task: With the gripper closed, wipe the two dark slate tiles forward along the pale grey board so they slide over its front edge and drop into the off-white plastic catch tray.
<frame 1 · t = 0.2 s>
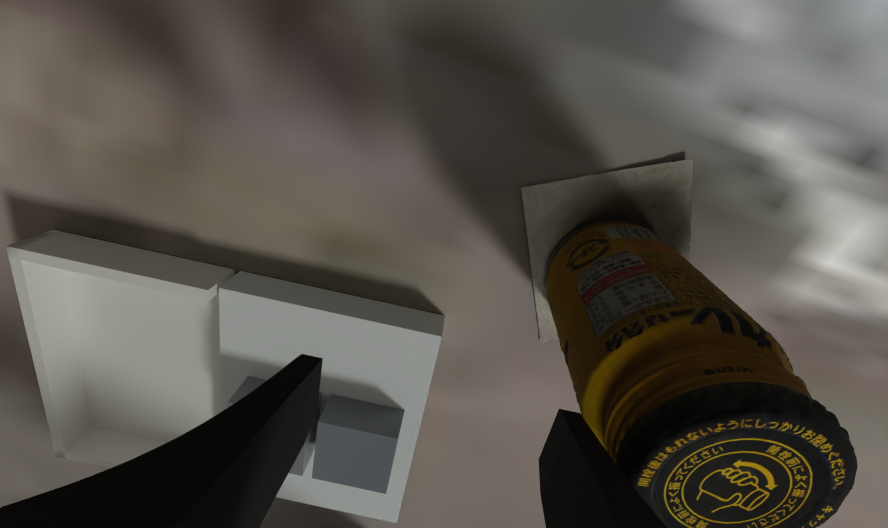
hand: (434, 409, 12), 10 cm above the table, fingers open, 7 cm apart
board: (330, 395, 25), on the table
catch tray: (154, 357, 25), on the table
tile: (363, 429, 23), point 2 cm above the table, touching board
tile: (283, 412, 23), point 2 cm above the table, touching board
condiment: (605, 257, 21), on the table
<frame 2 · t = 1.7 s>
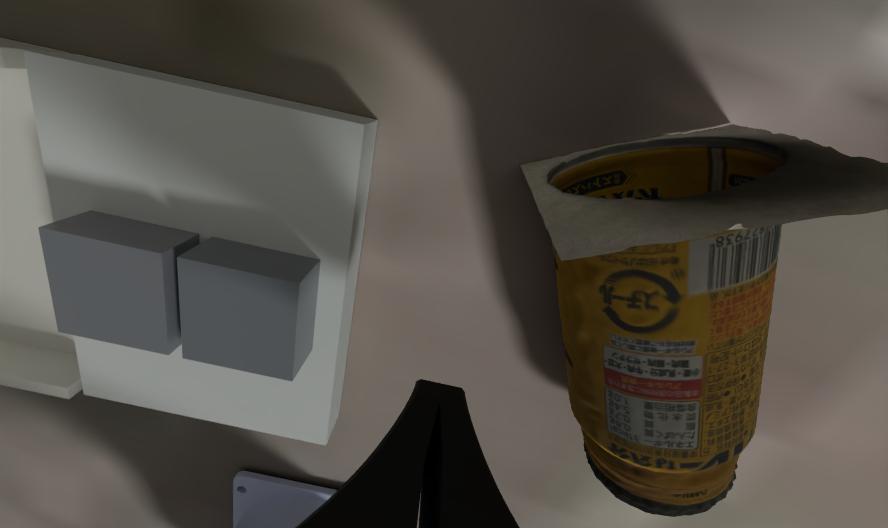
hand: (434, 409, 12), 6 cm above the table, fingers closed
board: (229, 262, 18), on the table
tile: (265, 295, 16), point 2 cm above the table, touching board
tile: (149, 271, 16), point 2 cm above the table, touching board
condiment: (672, 157, 11), point 4 cm above the table
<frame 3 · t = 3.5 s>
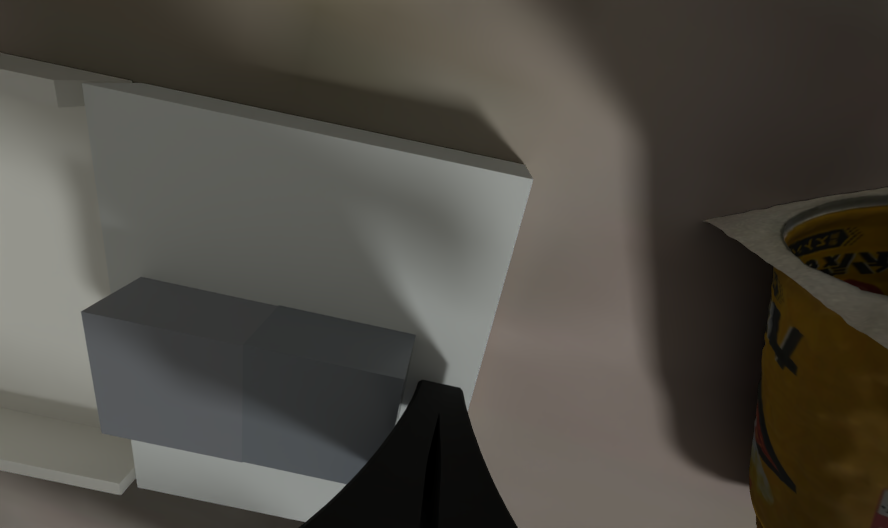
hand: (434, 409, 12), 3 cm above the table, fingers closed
board: (316, 330, 15), on the table
catch tray: (14, 267, 15), on the table
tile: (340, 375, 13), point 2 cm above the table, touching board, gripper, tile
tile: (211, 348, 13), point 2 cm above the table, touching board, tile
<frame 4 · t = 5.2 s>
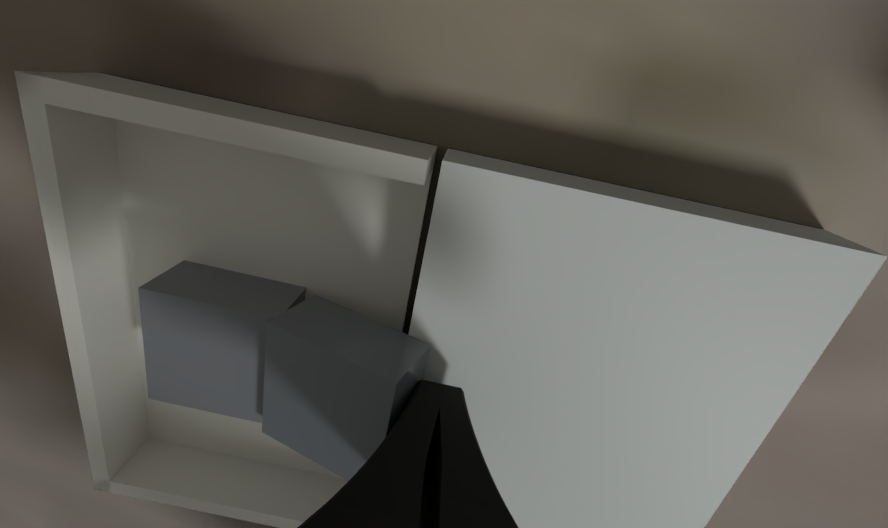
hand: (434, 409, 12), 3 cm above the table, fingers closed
board: (561, 383, 15), on the table
catch tray: (262, 319, 15), on the table
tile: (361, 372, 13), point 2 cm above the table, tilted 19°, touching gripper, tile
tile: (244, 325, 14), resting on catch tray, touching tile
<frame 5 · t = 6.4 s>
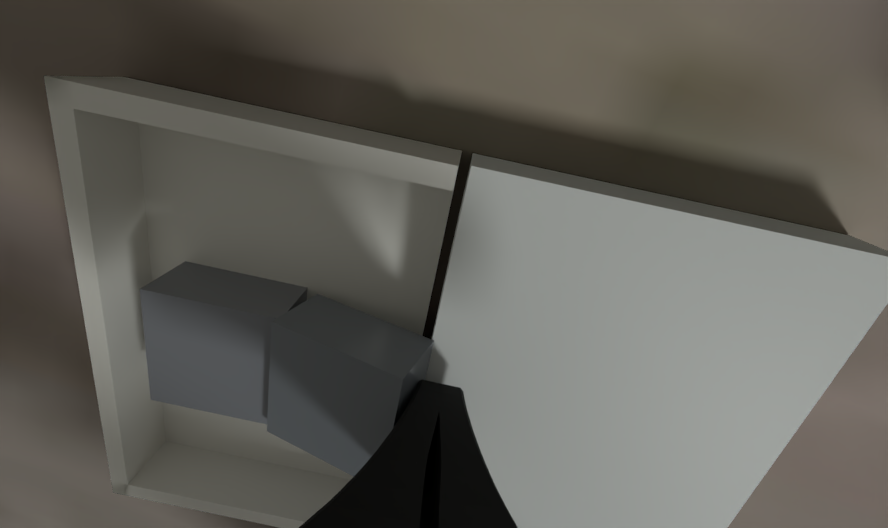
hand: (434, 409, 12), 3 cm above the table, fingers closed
board: (581, 387, 15), on the table
catch tray: (282, 323, 15), on the table
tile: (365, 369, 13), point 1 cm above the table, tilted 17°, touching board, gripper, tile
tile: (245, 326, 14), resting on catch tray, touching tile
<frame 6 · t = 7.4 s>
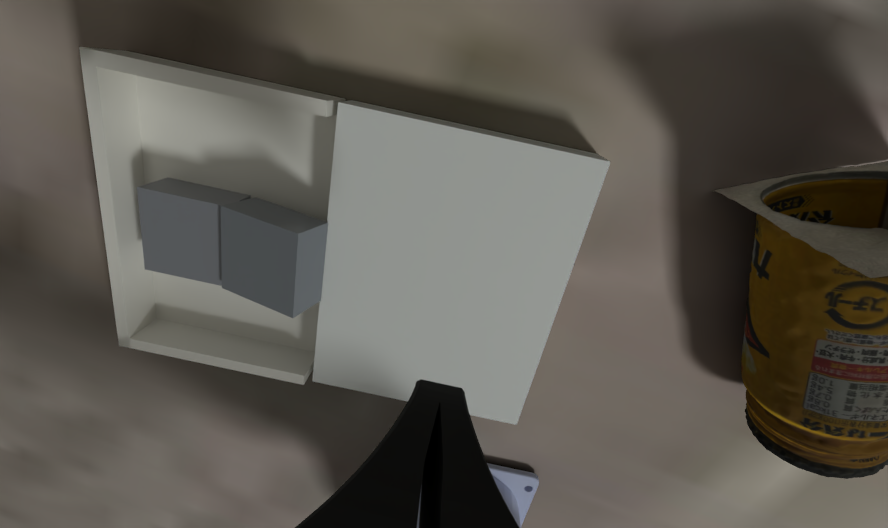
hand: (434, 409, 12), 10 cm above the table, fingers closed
board: (443, 269, 21), on the table
catch tray: (236, 224, 21), on the table
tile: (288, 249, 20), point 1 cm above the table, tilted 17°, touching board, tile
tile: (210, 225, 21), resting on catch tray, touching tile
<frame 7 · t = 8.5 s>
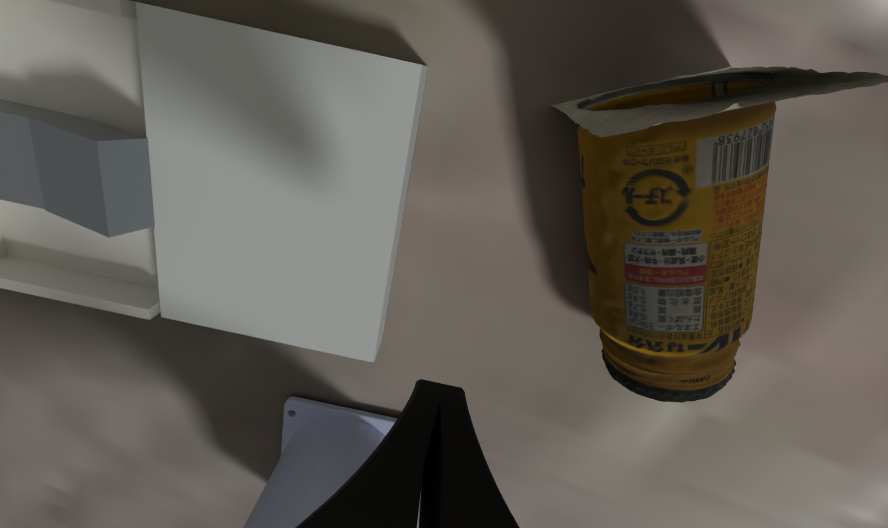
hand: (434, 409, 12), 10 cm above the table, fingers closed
board: (290, 198, 21), on the table
catch tray: (74, 151, 21), on the table
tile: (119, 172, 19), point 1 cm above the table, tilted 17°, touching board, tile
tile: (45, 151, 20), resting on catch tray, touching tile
condiment: (682, 81, 14), point 4 cm above the table
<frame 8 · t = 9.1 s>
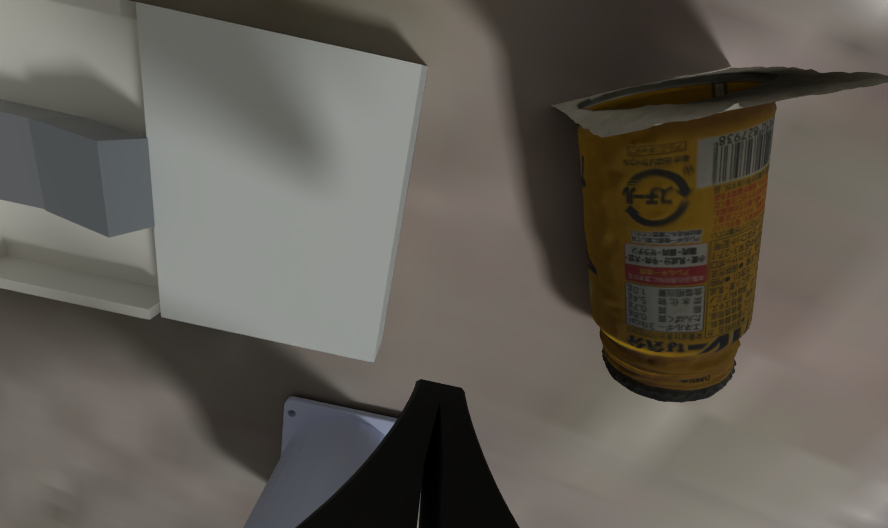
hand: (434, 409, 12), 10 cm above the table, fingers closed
board: (290, 198, 21), on the table
catch tray: (74, 151, 21), on the table
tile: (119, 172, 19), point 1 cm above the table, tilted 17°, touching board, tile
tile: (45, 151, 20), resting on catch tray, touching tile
condiment: (683, 81, 14), point 4 cm above the table
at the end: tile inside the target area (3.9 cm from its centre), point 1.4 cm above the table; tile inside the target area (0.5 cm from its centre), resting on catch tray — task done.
